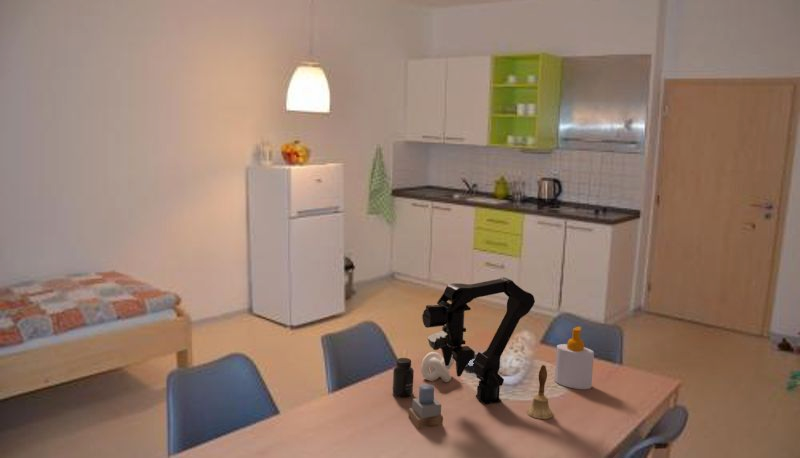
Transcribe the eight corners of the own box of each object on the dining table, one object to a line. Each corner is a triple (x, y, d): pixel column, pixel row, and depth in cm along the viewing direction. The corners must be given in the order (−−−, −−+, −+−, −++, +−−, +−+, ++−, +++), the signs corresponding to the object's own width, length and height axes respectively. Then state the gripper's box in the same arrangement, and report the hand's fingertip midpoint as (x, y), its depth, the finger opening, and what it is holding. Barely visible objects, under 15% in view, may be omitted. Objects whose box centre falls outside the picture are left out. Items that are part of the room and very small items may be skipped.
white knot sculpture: (416, 382, 225) (417, 358, 223) (425, 370, 236) (426, 347, 234) (447, 387, 221) (448, 362, 220) (455, 374, 233) (456, 351, 231)
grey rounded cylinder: (430, 397, 197) (430, 383, 197) (435, 403, 193) (436, 389, 193) (416, 399, 196) (417, 385, 195) (422, 405, 192) (422, 391, 191)
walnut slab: (432, 415, 201) (432, 405, 200) (442, 427, 193) (442, 416, 193) (408, 418, 198) (408, 408, 198) (417, 430, 191) (418, 419, 190)
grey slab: (431, 406, 199) (431, 395, 199) (440, 415, 193) (441, 404, 193) (412, 409, 197) (412, 398, 196) (421, 418, 191) (421, 407, 190)
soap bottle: (594, 384, 227) (599, 329, 224) (587, 392, 220) (592, 336, 217) (558, 376, 234) (562, 322, 231) (550, 383, 227) (554, 328, 224)
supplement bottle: (410, 399, 211) (411, 364, 209) (390, 397, 212) (391, 362, 210) (414, 391, 218) (415, 357, 215) (395, 388, 219) (395, 355, 217)
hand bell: (530, 405, 209) (533, 359, 206) (555, 411, 205) (559, 364, 202) (523, 415, 201) (526, 367, 199) (549, 421, 198) (553, 373, 195)
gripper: (420, 317, 208) (418, 362, 211) (443, 335, 191) (441, 385, 193) (451, 314, 212) (449, 359, 215) (476, 332, 195) (474, 381, 197)
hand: (452, 370), depth 205 cm, fingers open, 9 cm apart
